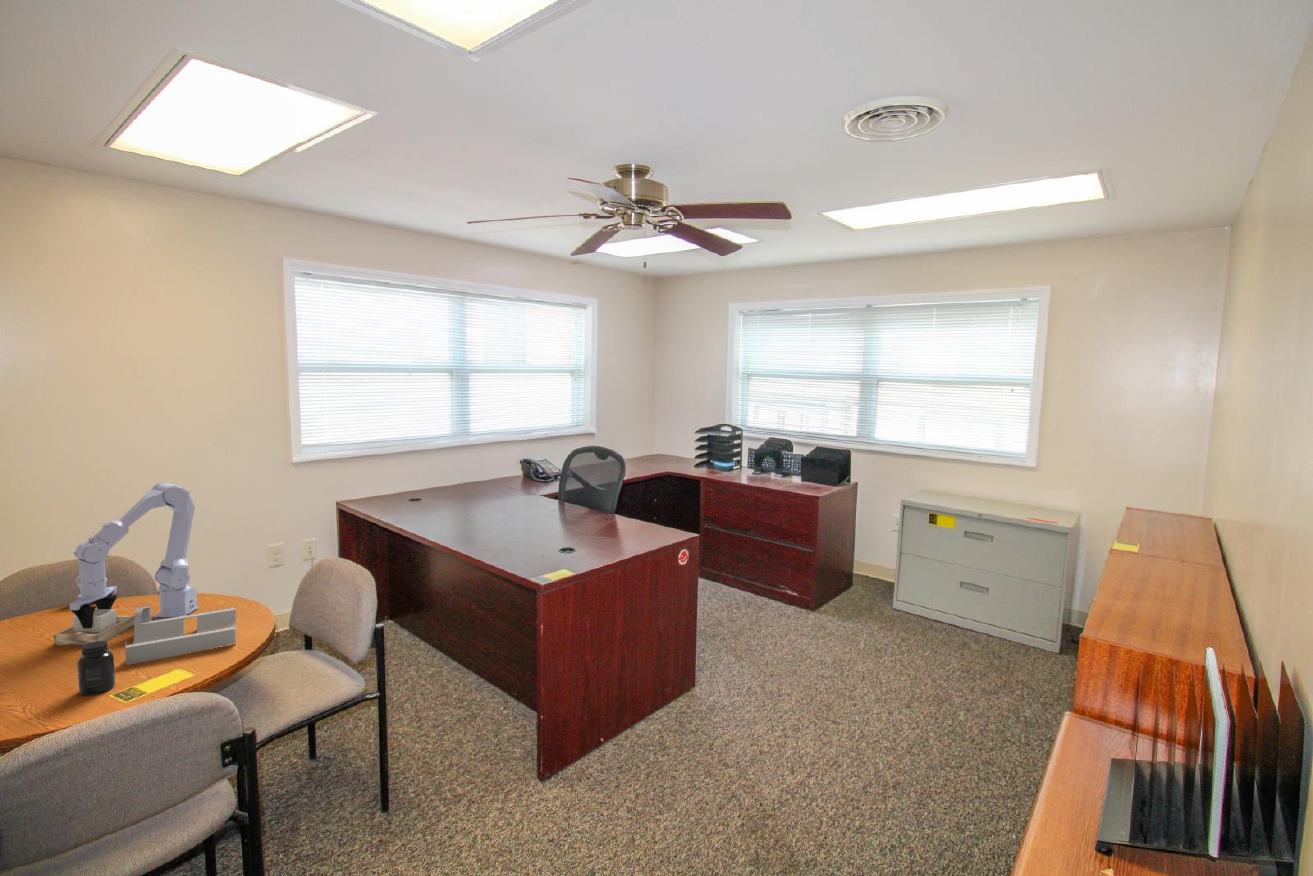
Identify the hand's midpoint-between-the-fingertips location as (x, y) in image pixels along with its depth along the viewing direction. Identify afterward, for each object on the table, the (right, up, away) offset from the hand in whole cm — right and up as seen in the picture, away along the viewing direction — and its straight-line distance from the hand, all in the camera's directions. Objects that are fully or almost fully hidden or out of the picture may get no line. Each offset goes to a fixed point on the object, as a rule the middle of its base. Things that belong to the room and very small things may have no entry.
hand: (95, 623), depth 182 cm
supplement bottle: (+28, -8, -29) cm, 41 cm away
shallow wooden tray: (0, -4, 0) cm, 4 cm away
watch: (-25, 0, +25) cm, 35 cm away
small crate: (0, -2, 0) cm, 2 cm away
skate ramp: (+28, -5, 0) cm, 28 cm away
